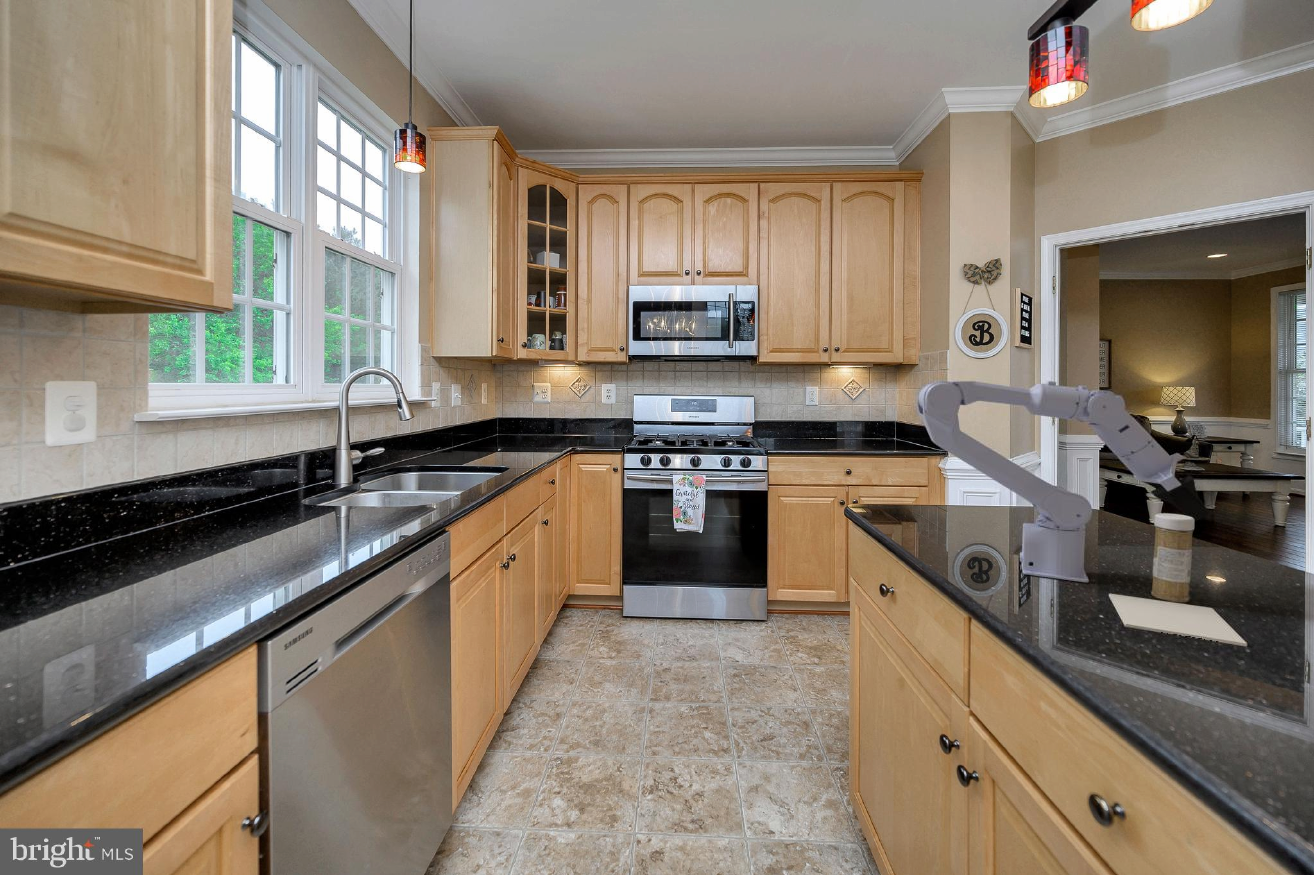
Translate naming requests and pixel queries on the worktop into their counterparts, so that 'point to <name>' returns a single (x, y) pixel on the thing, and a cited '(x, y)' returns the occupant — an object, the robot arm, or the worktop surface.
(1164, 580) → the sprinkles bottle
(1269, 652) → the worktop surface
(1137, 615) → the silicone mat
